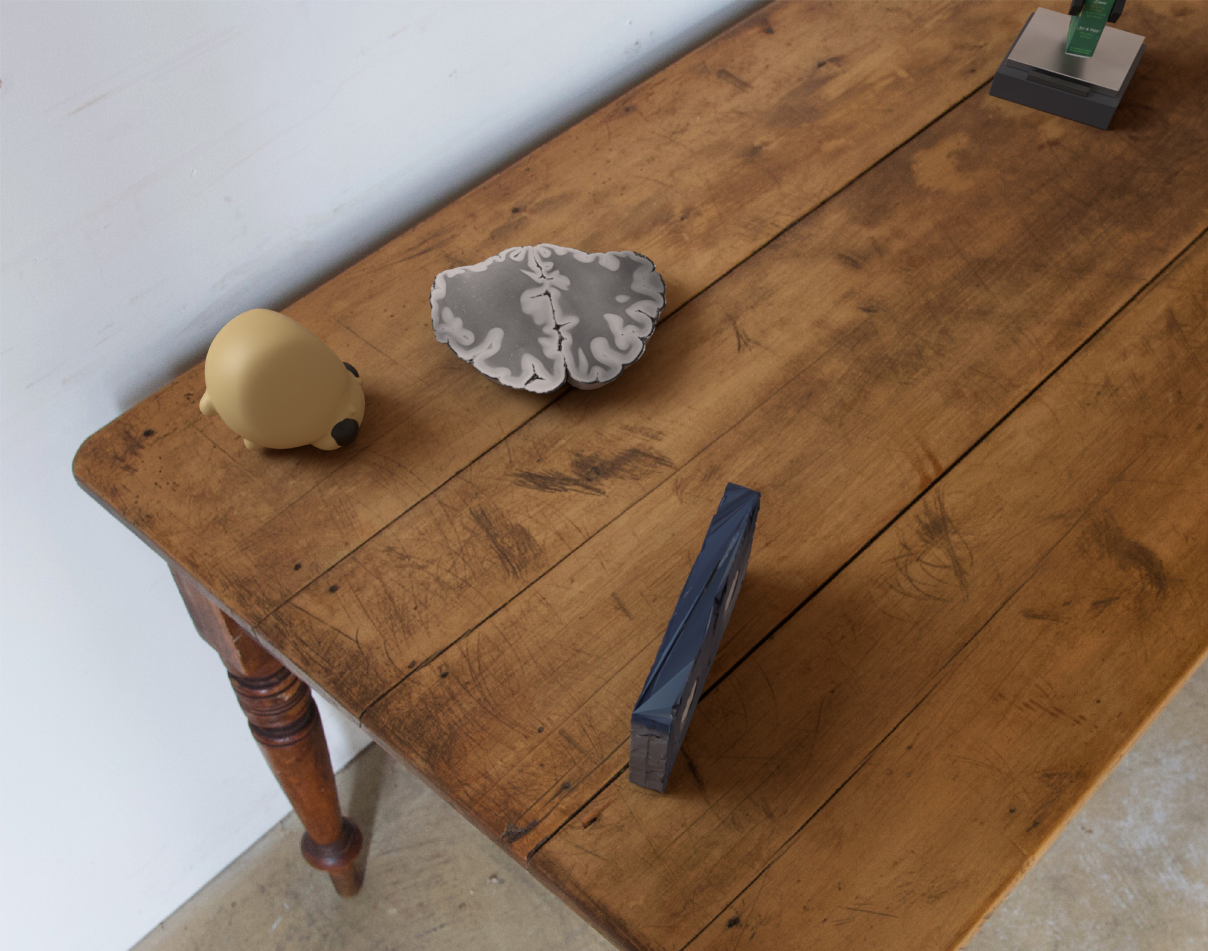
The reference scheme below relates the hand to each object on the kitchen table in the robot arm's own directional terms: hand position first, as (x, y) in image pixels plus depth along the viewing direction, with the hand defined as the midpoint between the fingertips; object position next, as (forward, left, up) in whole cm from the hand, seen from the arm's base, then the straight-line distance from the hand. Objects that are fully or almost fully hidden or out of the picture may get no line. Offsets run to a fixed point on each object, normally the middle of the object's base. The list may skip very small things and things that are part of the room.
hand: (1094, 14), depth 104 cm
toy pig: (+41, +72, -9) cm, 83 cm away
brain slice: (+28, +54, -9) cm, 61 cm away
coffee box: (+1, -4, -4) cm, 6 cm away
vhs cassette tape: (+4, +77, -9) cm, 77 cm away
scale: (+1, -3, -9) cm, 9 cm away
